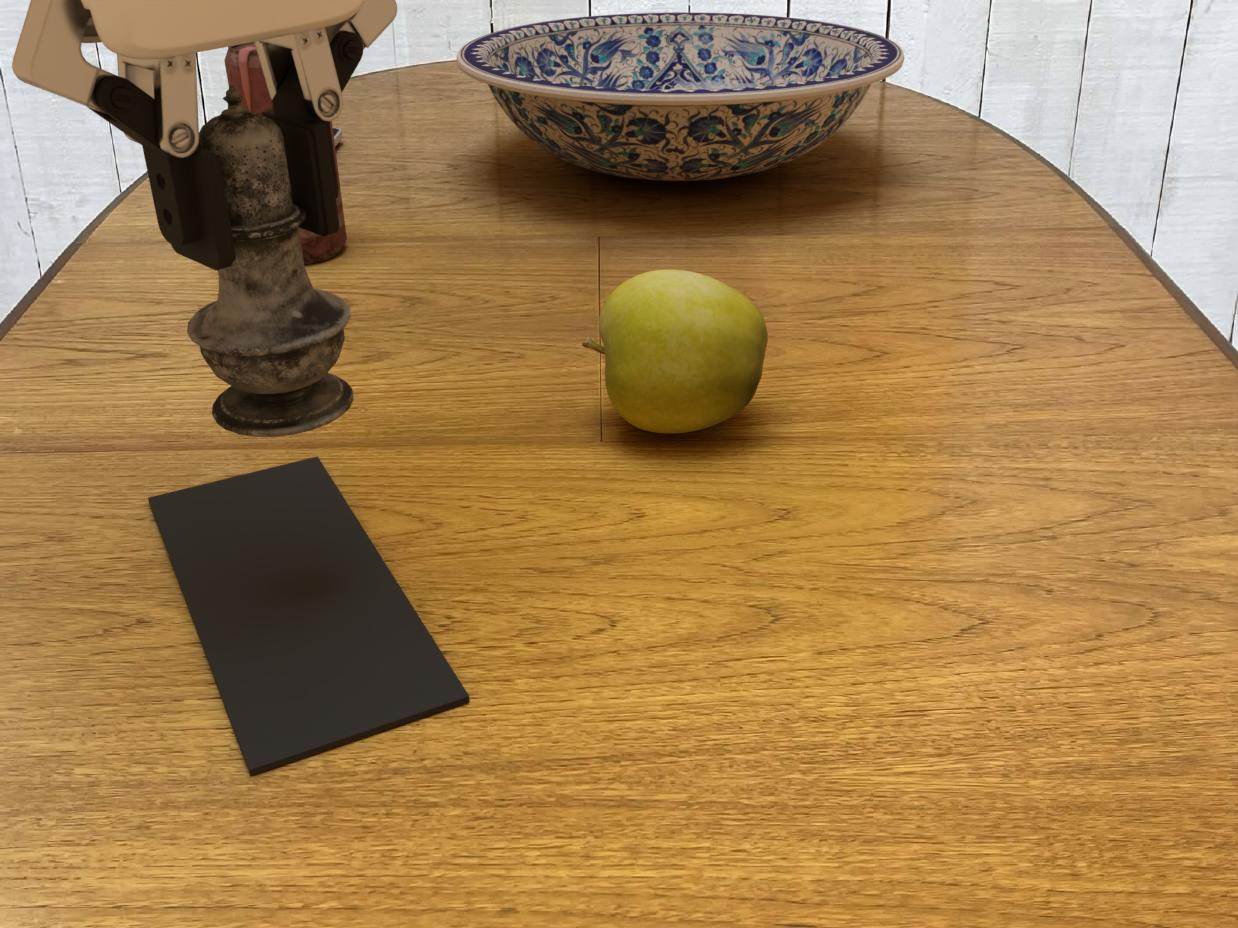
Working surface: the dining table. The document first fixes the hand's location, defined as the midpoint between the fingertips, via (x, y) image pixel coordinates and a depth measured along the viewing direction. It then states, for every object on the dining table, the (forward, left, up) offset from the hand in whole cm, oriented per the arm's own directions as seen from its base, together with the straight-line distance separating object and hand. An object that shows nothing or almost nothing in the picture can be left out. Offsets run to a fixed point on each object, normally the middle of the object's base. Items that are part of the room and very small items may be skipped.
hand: (256, 237), depth 45 cm
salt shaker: (0, 0, -7) cm, 7 cm away
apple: (+20, +5, -15) cm, 26 cm away
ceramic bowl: (+42, +43, -15) cm, 62 cm away
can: (+10, +39, -15) cm, 43 cm away
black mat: (-1, 0, -15) cm, 15 cm away
